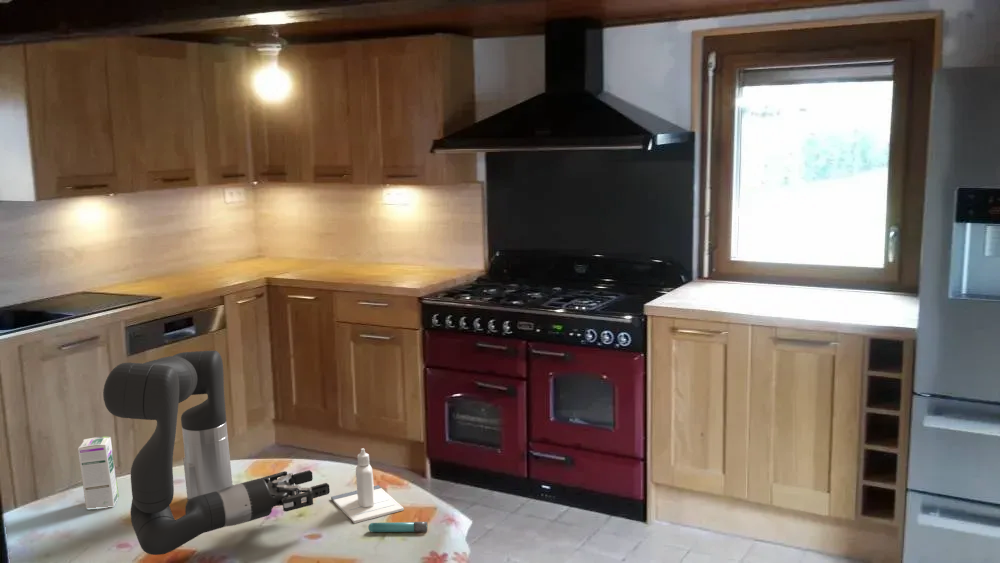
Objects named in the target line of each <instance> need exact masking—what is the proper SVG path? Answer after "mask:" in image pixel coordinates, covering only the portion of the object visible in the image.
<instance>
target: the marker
mask: <svg viewBox="0 0 1000 563" xmlns="http://www.w3.org/2000/svg"><path fill="white" fill-rule="evenodd" d="M368 531H370V532H371V533H409V532H410V533H418V532H419V533H420V532H423V533H427V532H428V522H427V521H412V522H409V521H408V522H407V521H406V522H404V521H403V522H371V523H369V524H368Z"/></svg>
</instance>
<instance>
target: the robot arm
mask: <svg viewBox="0 0 1000 563" xmlns="http://www.w3.org/2000/svg"><path fill="white" fill-rule="evenodd" d="M224 374H225V373H224V363H223V359H222V356H221V354H220V353H219V351H217V350H200V351H199V350H198V351H196V350H195V351H185V352H184V351H183V352H179V353H176V354H173V355H171V356H164V357H160V358H157V359H153V360H149V361H146V362H143V363H142V362H141V363H139V362H122V363H120V364H118V365H116V366H115V367H114V368H113V369H112V370H111V371H110V372H109V374H108V376H107V377H106V379H105V382H104V385H103V390H102V391H103V392H102V393H103V394H102V396H103V401H104V402H103V403H104V405H105V407H106V409H107V411H108V412H109V413H110V414H111V415H112V416H115V417H118V418H122V419H130V420H131V419H134V420H146V421H147V420H148V421H156V425H155V430H154V432H153V433H152V435H151V437H150V438H149V439H148V440H147V442H146V443H145V444H144V445H143V446H142V448H141V449H140V450H139V452H138V453H137V454H136V456H135V457H134V459H133V461H132V464H131V468H130V486H131V487H130V488H131V497H132V499H131V505H130V520H131V524H132V525H131V526H132V528H133V530H134V533H135V535H136V539H137V541H138V543H139V546H140V548H141V550H142V551H143V553H146V554H148V555H153V556H154V555H155V556H159V555H160V556H161V555H165V554H169V553H170V552H173V551H175V550H176V549H178V548H180V547H182V546H183V545H185V544H186V543H188V542H191V541H192V540H193V539H195V538H197V537H200V536H201V535H202V534H205V533H209V532H211V531H215V530H219V529H223V528H226V527H232V526H237V525H241V524H245V523H249V522H252V521H255V520H258V519H263V518H265V517H268V516H270V515H271V513H272V510H273V508H274V507H278V506H282V509H283V510H282V511H283V512H290V511H295V510H298V509H301V508H305V507H309V506H313V505H314V499H316V498H319V497H324V496H326V495H329V494H330V491H331V490H330V484H329V483H327V482H324V483H320V484H318V485H313V486H310V487H301V484H306V483H309V482H312V481H313V479H314V478H313V471H311V470H310V469H309V470H304V471H300V472H297V473H292V472H290V473H288V472H287V471H281V472H277V473H274V474H271V475H267V476H263V477H259V478H256V479H255V478H254V479H251V480H249V481H245V482H239V483H236V484H233V476H232V467H231V466H232V465H231V456H230V448H229V447H230V446H229V445H230V444H229V434H228V424H227V413H226V399H225V386H224V385H225V381H224V380H225V378H224ZM196 395H207V399H205V400H204V401H202V402H201V403H199V404H197V405H195V406H192V407H189V408H188V409H186V410H185V411H183V412H182V414H181V416H180V420H181V421H180V423H181V431H182V442H183V452H184V457H183V468H184V469H183V470H184V477H185V478H184V479H185V487H186V488H185V489H186V497H187V498H186V499H187V502H186V503H185V508H184V510H185V514H184V515H183V516H181V517H179V518H176V519H175V517H174V515H173V511H172V510H171V506H170V505H171V504H172V501H173V499H174V495H175V492H174V490H175V489H174V487H175V486H174V473H173V472H174V470H173V469H174V468H173V461H174V457H173V456H174V450H175V442H176V432H177V425H178V424H177V422H178V413H179V404H181V403H182V402H184V401H186V400H187V399H189V397H191V396H196Z"/></svg>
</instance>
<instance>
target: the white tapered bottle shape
mask: <svg viewBox="0 0 1000 563" xmlns="http://www.w3.org/2000/svg"><path fill="white" fill-rule="evenodd" d="M365 450H366V449H365V448H364V447H363V448H360V452H359V453H358V454H357V466H356V467H355V477H356V479H355V480H356V491H357V495H358V503H359V505H360V506H362V507H370V506H373V505H374V503H375V498H374V486H375V485H374V474H373V467H372V466H371V464H370V454H369V453H367V452H366V451H365Z"/></svg>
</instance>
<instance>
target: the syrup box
mask: <svg viewBox="0 0 1000 563" xmlns="http://www.w3.org/2000/svg"><path fill="white" fill-rule="evenodd" d="M112 445H113V444H112V437H111V436H95V437H91V438H84V439H83V440H82V442H81V443H80V445H79V446H78V448H77V453H78V460H79V466H80V468H79V469H80V474H81V480H82V487H83V495H84V502H85V509H86V508H96V507H108V506H114V507H115V505H116V503H117V502H116V501H118V499H119V497H120V494H119V489H118V488H119V487H118V482H117V473H116V466H115V459H114V452H113V451H114V450H113V446H112Z"/></svg>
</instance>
